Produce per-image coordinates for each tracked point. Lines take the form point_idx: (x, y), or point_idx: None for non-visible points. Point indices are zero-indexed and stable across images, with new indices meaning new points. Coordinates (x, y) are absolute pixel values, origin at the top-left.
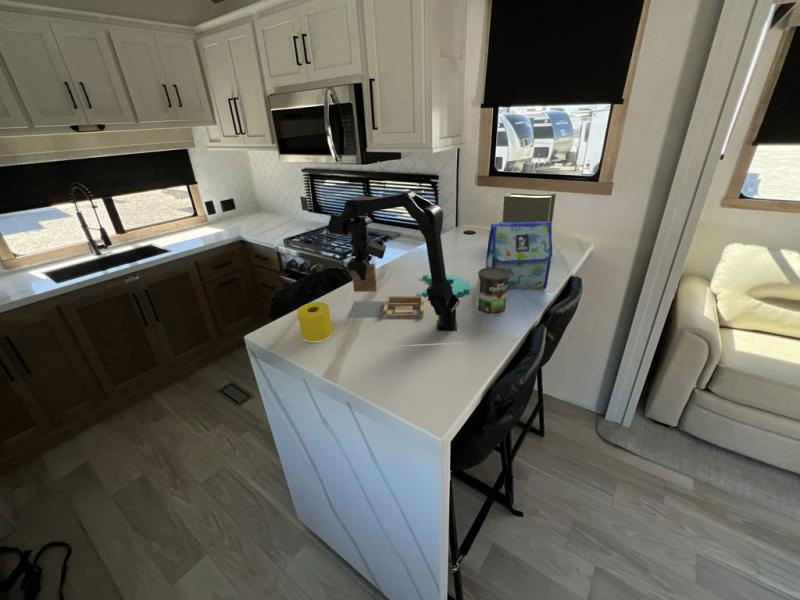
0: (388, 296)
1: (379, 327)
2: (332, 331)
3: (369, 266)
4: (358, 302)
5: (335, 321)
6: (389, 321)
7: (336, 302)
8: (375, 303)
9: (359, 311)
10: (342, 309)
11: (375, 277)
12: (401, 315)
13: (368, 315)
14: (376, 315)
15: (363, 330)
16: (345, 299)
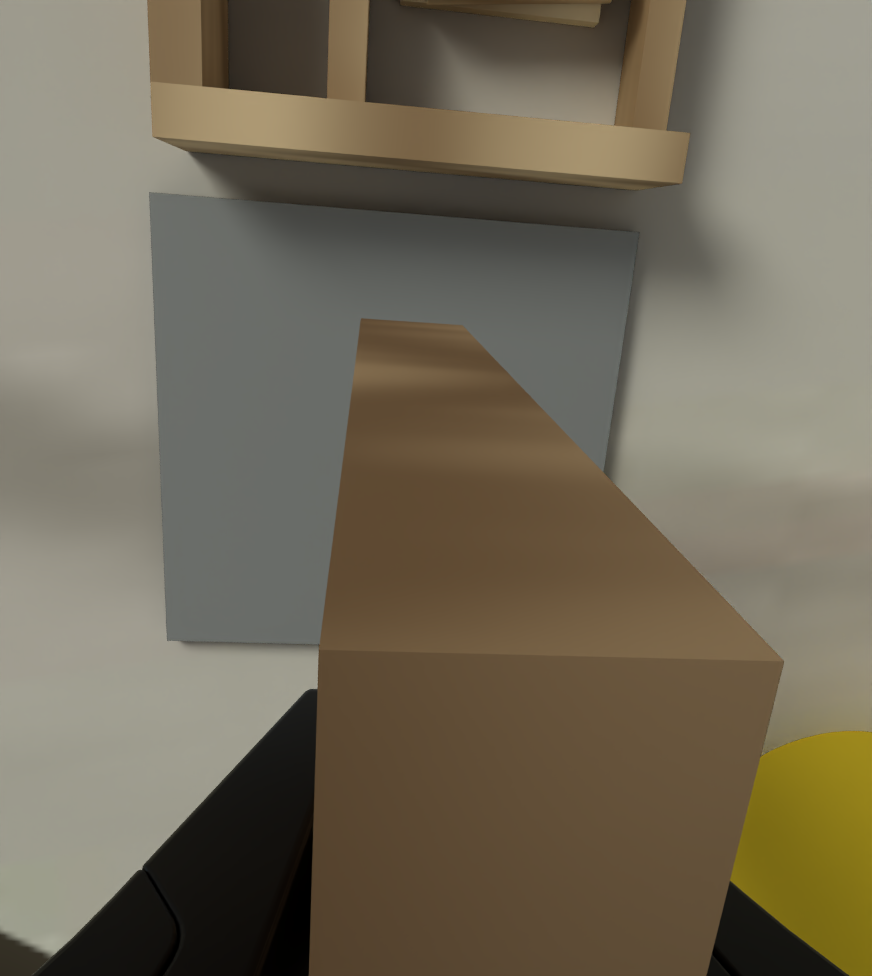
0: (155, 102)
1: (845, 238)
2: (843, 743)
3: (665, 926)
4: (194, 582)
5: None
6: (726, 99)
7: (176, 827)
8: (219, 342)
9: None
10: None
11: (424, 381)
12: None
13: (561, 409)
14: (572, 299)
15: (865, 432)
16: (90, 747)
